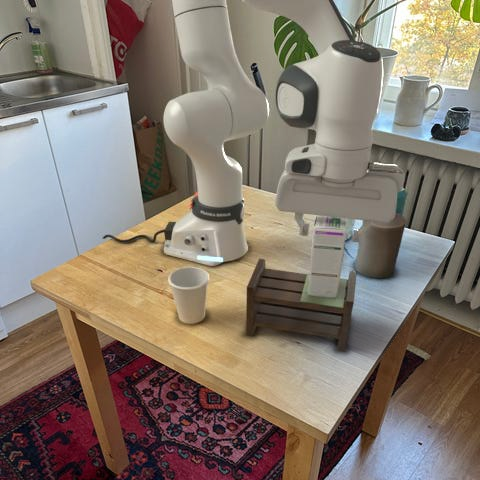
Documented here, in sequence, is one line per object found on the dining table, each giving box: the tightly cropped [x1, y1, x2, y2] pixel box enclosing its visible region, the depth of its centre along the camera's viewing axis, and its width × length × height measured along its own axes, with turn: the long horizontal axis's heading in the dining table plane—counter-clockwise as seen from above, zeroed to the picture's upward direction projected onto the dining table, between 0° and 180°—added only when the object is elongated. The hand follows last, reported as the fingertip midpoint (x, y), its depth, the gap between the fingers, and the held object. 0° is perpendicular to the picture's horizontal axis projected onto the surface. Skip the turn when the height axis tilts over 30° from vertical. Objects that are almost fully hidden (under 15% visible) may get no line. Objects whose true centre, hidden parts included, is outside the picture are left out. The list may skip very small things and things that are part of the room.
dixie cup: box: [167, 266, 210, 325], centre depth 95 cm, size 8×8×10 cm
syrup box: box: [307, 215, 347, 298], centre depth 84 cm, size 6×6×14 cm
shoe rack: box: [245, 258, 358, 352], centre depth 91 cm, size 20×11×12 cm, turn 76°
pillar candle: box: [354, 213, 407, 279], centre depth 109 cm, size 10×10×15 cm
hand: (329, 237), depth 81 cm, fingers open, 8 cm apart
